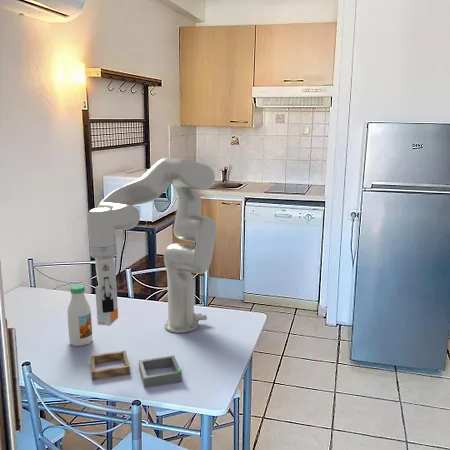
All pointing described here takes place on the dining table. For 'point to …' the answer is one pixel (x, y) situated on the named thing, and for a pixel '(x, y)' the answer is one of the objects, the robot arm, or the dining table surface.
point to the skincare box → (102, 317)
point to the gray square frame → (160, 378)
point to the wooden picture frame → (109, 371)
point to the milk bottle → (79, 318)
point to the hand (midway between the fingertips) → (107, 306)
